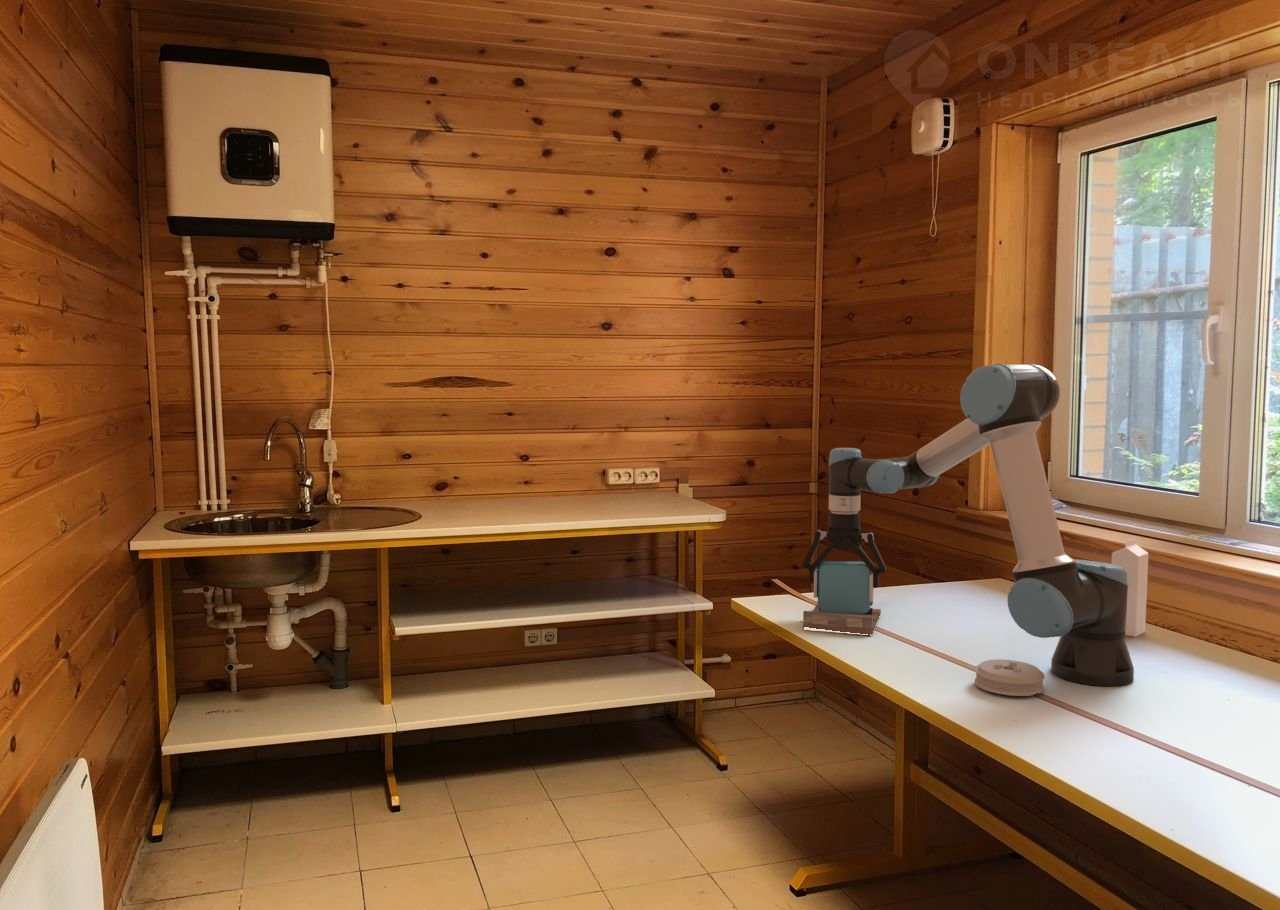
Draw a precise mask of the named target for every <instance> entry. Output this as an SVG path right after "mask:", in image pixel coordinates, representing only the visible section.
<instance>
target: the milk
mask: <svg viewBox="0 0 1280 910" xmlns="http://www.w3.org/2000/svg"><path fill="white" fill-rule="evenodd" d="M1136 543H1137V539H1136V537H1134V538H1130V539H1127V540H1125V545H1124V547H1123V548H1121V549H1118V550H1115V551H1113V552H1111V564H1113V565H1117V566H1120V567H1123V568H1124V569H1125V570H1126V572H1127V584H1128V591H1127V612H1126V631H1125V636H1127V637H1132V638H1133V637H1134V638H1136V637H1139V636H1140V635H1143V634H1144V633H1146V621H1147V601H1148V600H1147V596H1148V595H1147V594H1148V574H1149V572H1148V571H1149V552H1148V551H1146V550H1145V549H1144V548H1142V547H1140V545H1137V544H1136Z"/></svg>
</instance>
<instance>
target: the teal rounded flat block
mask: <svg viewBox="0 0 1280 910" xmlns="http://www.w3.org/2000/svg"><path fill="white" fill-rule="evenodd" d="M817 569H818V597H817V604H818V606H819V608H820V610H821V611H822V612H826V613H838V614H865V613H867V612H868V611H869V609H870V608H871V605H870V602H869V588H870V573H871V570H870V569H869V568H868V567H867V565H866V564H865V563H864V562H863V561H821V562H820V564H819V565H818V566H817Z"/></svg>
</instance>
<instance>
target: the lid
mask: <svg viewBox="0 0 1280 910" xmlns="http://www.w3.org/2000/svg"><path fill="white" fill-rule="evenodd" d="M974 671H975V674H976V675H975V679H974V684H975V685H976V686H977V687H978V688H980V689H982V690H984V691H987V692H990V693H994V694H999V695H1002V696H1003V695H1004V696H1013V697H1028V696H1035V695H1034V693H1039V694H1042V693H1043V692H1044V691H1045V686H1044V680H1045V678H1046V677H1045V675H1046V674H1045V673H1044V672H1043V671H1041V670H1040V668H1038V667H1037V666H1036V665H1034V664H1031V663H1028V662H1024V661H1019V660H1014V659H1001V658H1000V659H999V658H998V659H988V660H985V661H981V662H980V663H979V664H977V665H976V666H975V667H974Z"/></svg>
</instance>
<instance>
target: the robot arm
mask: <svg viewBox="0 0 1280 910" xmlns="http://www.w3.org/2000/svg"><path fill="white" fill-rule="evenodd" d="M1060 397H1061V390H1060V384H1059V382H1058V380H1057V377H1056V376H1055V375H1054V373H1052V372H1051V371H1050V370H1049V369H1047V368H1045V367H1044V366H1042V365H1037V364H1033V363H1023V364H1021V363H1019V364H1018V363H1017V364H1016V363H1015V364H1014V363H1013V364H1011V363H1009V364H1008V363H1007V364H1005V363H994V364H988V365H983V366H980V367H977V368H976V369H974V370H973V371H972V372H971V373H970V374H969V375H968V376H967V377H966V380H965V382H964V383H963V384H962V387H961V389H960V406H961V407H960V408H961V410H962V412H963V414H964V417H966V419H964V420H962V421H961V422H959V423H957V424H956V425H955V426H953V427H951V428H950V429H949V430H947V431H945V432H943V434H941V435H939V436H938V437H936V438H935V439H933V440H932V441H930V442H929V443H927V444H926V445H924V446H922V447H920V448H919V449H917V450H916V451H914V452H912V453H911V454H910V455H908V456H902V457H900V456H899V457H892V458H891V457H890V458H889V457H888V458H879V459H876V458H875V459H874V458H863V456H862V451H861V449H859V448H857V447H834V448H832V449H831V450H830V451H829V459H828V464H827V465H828V510H829V511H830V512H828V529H827V531H822V530H821V529H817V530H816V531H815V533H814V540H813V542H812V545H811V546H810V548H809V550H808V552H807V554H806V556H805V558H804V560H803V563H802V564H801V566H802V568H804V569H807V570H808V571H809V584H813V598H815V599H818V566H819V564H820V563H821V562H823V561H824V559H825V558H826V557H827V555H829V554H830V553H831V551H832V550H833V549H835V550H837V551H847V552H848V551H849V552H850V551H854V552H855V553H856V554H857V555H858V556H859V558H860V559H861V561H862V562H864V563H865V564H866V565H867V567H868V568H869V569H870V588H869V602H873V603H874V598H875V589H876V588H878V587H879V584H880V582H879V580H880V579H879V578H880V577H879V575H880V574H882V573H885V572H886V570H887V565H886V563H885V561H884V559H883V558H882V557H883V556H882V555H881V552H880V550H879V549H878V547H877V545H876V542H875V535H874V532H872V531H870V532H868V533H867V532H866V533H862V531H861V514H860V513H859V511H861V495H862V493H861V491H866V492H873V493H878V494H895V493H897V492H898V491H899V490H907V489H915V488H916V489H918V488H919V489H921V488H926V487H930V486H931V485H934V484H935V483H936V482H938V480H939V477H940V475H941V474H943V473H945V472H946V471H948V470H950V469H951V468H953V467H955V466H956V465H958V464H960V463H961V462H963V461H965V460H966V459H968V458H970V457H971V456H973V455H975V454H976V453H979V452H980V451H981V450H983V449H985V448H987V447H988V446H990V447H991V452H992V455H993V460H994V464H995V468H996V472H997V476H998V480H999V485H1000V489H1001V490H1000V491H1001V494H1002V498H1003V502H1004V505H1005V506H1004V507H1005V511H1006V514H1007V519H1008V522H1009V527H1010V531H1011V535H1012V540H1013V543H1014V547H1015V551H1016V557H1017V563H1016V564H1015V566H1014V567H1013V569H1012V576H1013V578H1014V584H1012V586H1011V587H1010V591H1009V592H1008V595H1007V607H1008V611H1009V613H1010V616H1011V618H1012V619H1013V621H1014V622H1015V624H1016V625H1017V626H1018V627H1019V628H1020V629H1022V630H1023V631H1025V632H1026V633H1027V634H1028V635H1030V636H1032V637H1036V638H1042V639H1043V638H1044V639H1045V638H1055V637H1056V638H1057V637H1058V638H1059V640H1058V642H1057V645H1056V647H1055V648H1054V649H1055V650H1054V652H1053V654H1052V656H1051V663H1050V664H1051V666H1050V669H1051V673H1052V674H1054V675H1056V676H1057V677H1059V678H1061V679H1064V680H1067V681H1069V682H1074V683H1079V684H1083V685H1090V686H1091V685H1092V686H1100V687H1101V686H1102V687H1117V686H1125V685H1128V684H1131V683H1132V682H1133V681H1134V679H1135V678H1134V675H1135V670H1134V665H1133V662H1132V658H1131V655H1130V652H1129V648H1128V645H1127V642H1126V635H1125V631H1126V612H1127V591H1128V584H1127V572H1126V570H1125V569H1124V568H1123V567H1120V566H1117V565H1113V564H1112V563H1107V562H1100V561H1093V560H1088V559H1087V560H1085V559H1074V558H1072V557H1071V556H1070V555H1068V554H1067V553H1066V552H1065V549H1064V544H1063V540H1062V536H1061V533H1060V532H1061V531H1060V529H1059V524H1058V520H1057V516H1056V511H1055V508H1054V503H1053V500H1052V499H1053V498H1052V495H1051V491H1050V488H1049V483H1048V479H1047V476H1046V472H1045V468H1044V463H1043V459H1042V454H1041V451H1040V446H1039V443H1038V439H1037V434H1036V433H1037V431H1038V430H1039V428H1040V427H1041V426H1042V420H1044V419H1045V418H1046V417H1048V416H1049V415H1051V413H1052V412H1054V410H1055V408H1057V406H1058V403H1059V401H1060ZM825 538H827V540H828V541H829V544H828V546H827V547H826V548H825V549H824V550H823V551H822V552H821V554H820V555H819V556H817V558H816V559H815V560H814V562H813V563H811V560H812V558H813V556H814V554H815V553H816V551H817V548H818V547H819V544H820V542H821V541H823V540H824V539H825ZM862 539H863V540H864V542H865V543H867V544H868V547H869V549H870V551H871V554H872V555H873V557H874V559H875V562H876V564H877V565H876V564H875V563H874V562H873V560H872V559H871V558H870V557H869V555H868V554H867V553H866V551H865V550H864V549H863V548H862V545H861V544H860V543H859V542H860V541H861V540H862ZM877 566H878V567H877Z"/></svg>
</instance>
